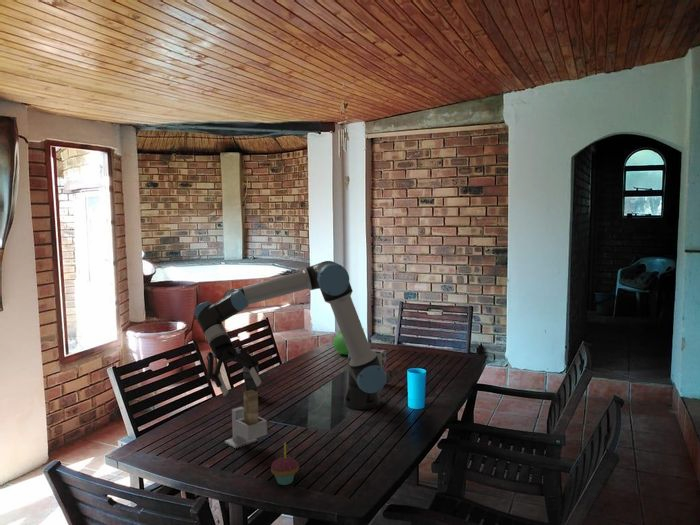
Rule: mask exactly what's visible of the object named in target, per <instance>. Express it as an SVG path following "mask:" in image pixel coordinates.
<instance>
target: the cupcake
mask: <svg viewBox="0 0 700 525" xmlns="http://www.w3.org/2000/svg"><path fill="white" fill-rule="evenodd" d="M299 470H300V464H299V462H298V461H297V460H296V459H295V458H293V457H290V456H287V443H286V442H284V443H283V456H281V457H279V458H276V459H275V460H274V461H273V462H272V464H271V465H270V472H271V473H272V475H274V477H275V480H276V483H277V484H278V485H282V486H286V485H287V486H289V485H291V484H292V483H293V481H294V477H295V475H296V474H297V472H298V471H299Z"/></svg>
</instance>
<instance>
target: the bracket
mask: <svg viewBox="0 0 700 525" xmlns="http://www.w3.org/2000/svg"><path fill="white" fill-rule="evenodd" d="M231 422H232V425H231V428H232V437H231V438H229V439H226V440H224V444H226V445H227V444H228V445H227V446H229V447H231V446H232V447H233V449H234V448H235V450H236V448H237V449H239V447H240V448H242V446H243V447H245V445H246V446H248V445H251V444H254V443H256V441H257V442H258V438H261V437H264V436H267V435H268V420H266V419H265V418H263V417H261V416H259V415H258V422H257V423H254V424H251V425H247V424H245V423H244V406H239V407H235V408H232V409H231ZM232 447H231V448H232Z"/></svg>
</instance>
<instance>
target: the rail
mask: <svg viewBox="0 0 700 525" xmlns="http://www.w3.org/2000/svg"><path fill="white" fill-rule="evenodd" d="M243 407H244V423H245V424H247V425H251V424H254V423H257V422H258V416H259V391H257V392H256V391H254V390H250V391H244V392H243Z"/></svg>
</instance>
